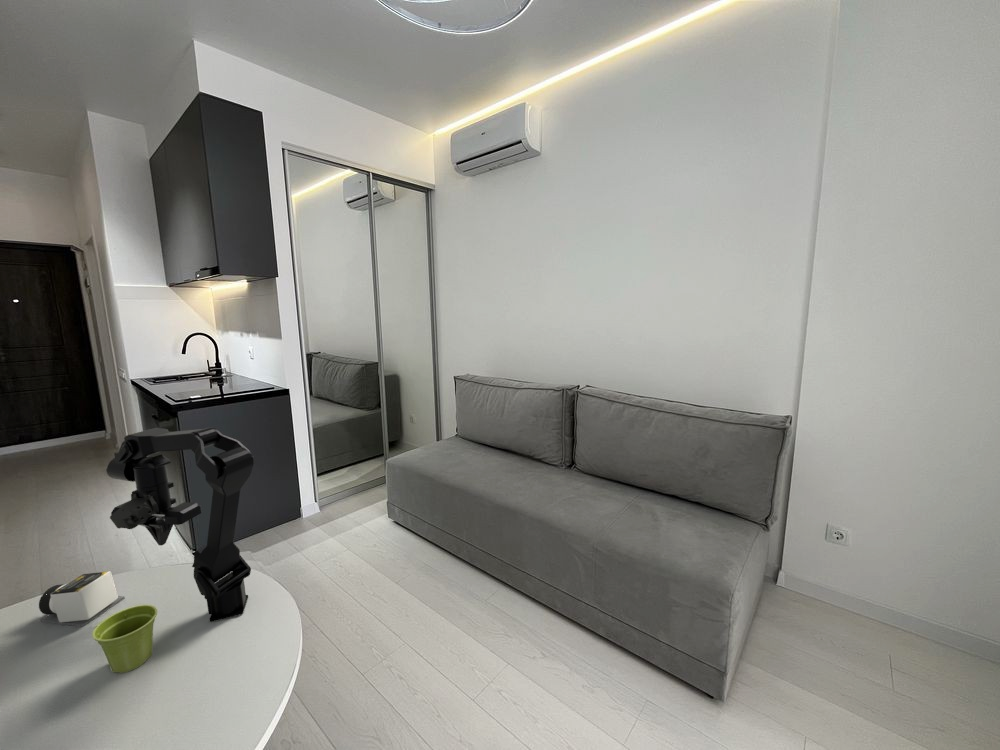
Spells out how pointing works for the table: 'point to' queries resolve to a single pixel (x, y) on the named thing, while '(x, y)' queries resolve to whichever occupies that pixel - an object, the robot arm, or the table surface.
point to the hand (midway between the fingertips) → (162, 544)
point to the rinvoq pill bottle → (79, 597)
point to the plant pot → (127, 637)
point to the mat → (54, 619)
